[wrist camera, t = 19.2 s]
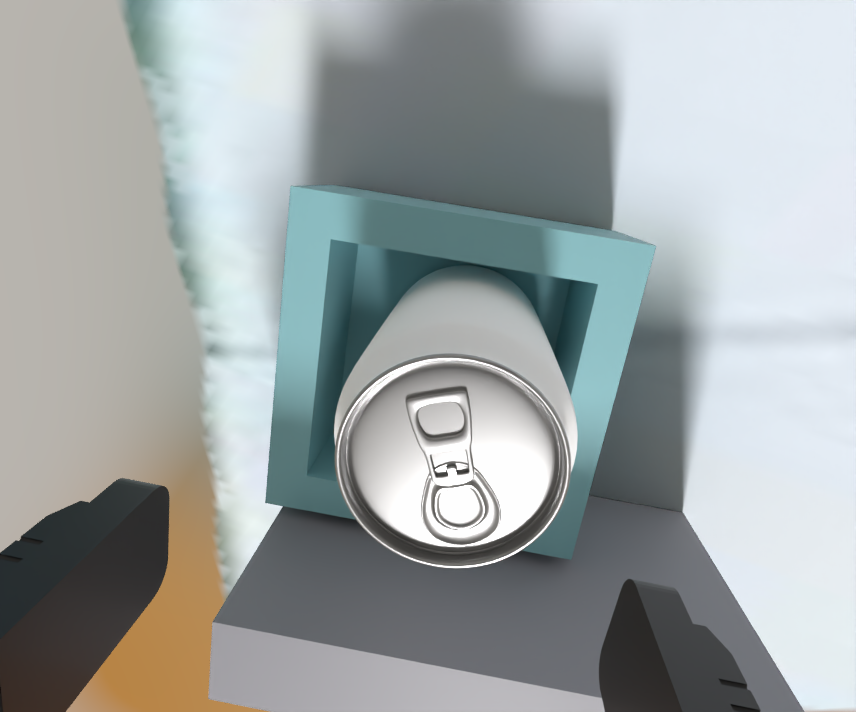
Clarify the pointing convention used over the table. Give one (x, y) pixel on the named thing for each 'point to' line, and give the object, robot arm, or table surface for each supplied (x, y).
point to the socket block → (394, 275)
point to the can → (456, 424)
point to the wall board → (458, 619)
